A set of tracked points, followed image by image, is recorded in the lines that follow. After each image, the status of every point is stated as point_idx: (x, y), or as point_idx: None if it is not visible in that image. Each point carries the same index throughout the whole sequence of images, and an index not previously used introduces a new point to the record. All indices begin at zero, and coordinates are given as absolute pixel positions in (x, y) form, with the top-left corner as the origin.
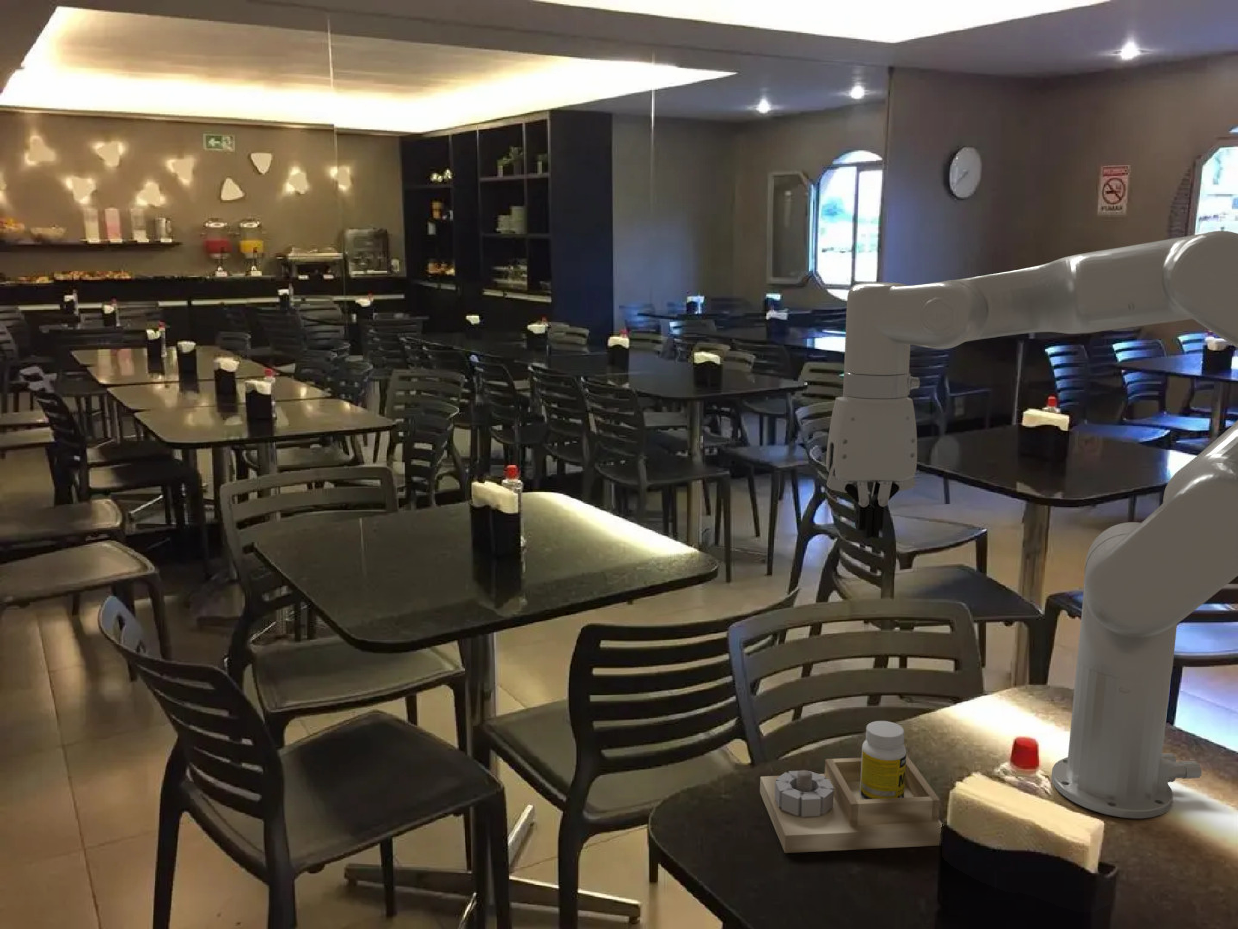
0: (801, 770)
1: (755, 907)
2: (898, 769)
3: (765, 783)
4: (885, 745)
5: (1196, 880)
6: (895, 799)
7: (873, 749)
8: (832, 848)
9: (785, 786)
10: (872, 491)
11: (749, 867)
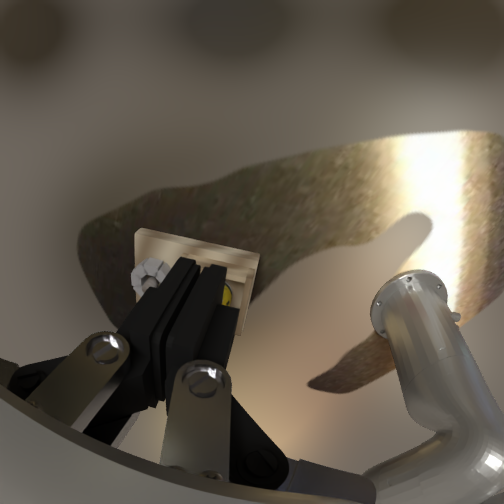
0: (145, 285)
1: (120, 325)
2: None
3: (136, 244)
4: None
5: (361, 377)
6: None
7: None
8: None
9: (136, 282)
10: (170, 402)
11: (120, 299)
